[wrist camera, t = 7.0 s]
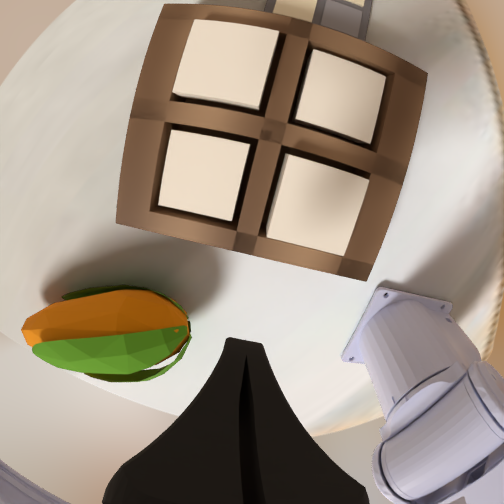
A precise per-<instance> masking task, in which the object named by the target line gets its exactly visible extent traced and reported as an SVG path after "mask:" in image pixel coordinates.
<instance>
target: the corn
mask: <svg viewBox="0 0 504 504" xmlns="http://www.w3.org/2000/svg"><path fill="white" fill-rule="evenodd" d="M62 298H63V299H65V300H67V301H62V302H57V303H53V304H51V305H50V306H48V307H46V308H44V309H43V310H41V311H39V312H37V313H36V314H34V315H32V316H30V317H29V318H27V319H26V321H25V323H24V325H23V327H22V329H21V331H22V333H23V335H24V338H25V340H26V342H27V344H28V345H29V346H31V347H32V351H33V353H34V354H35V355H36V356H37V357H39V358H41V359H42V360H44V361H46V362H47V363H49V364H51V365H53V366H56V367H58V368H62V369H67V370H71V371H76V372H82V373H84V374H86V375H88V376H90V377H93V378H96V379H100V380H104V381H108V382H140V381H148V380H151V379H153V378H156V377H158V376H160V375H162V374H164V373H165V372H167V371H168V370H169V369H170V368H171V367H172V366H174V365H175V364H176V363H177V362H178V361H179V360H181V359H182V357H183V355H184V353H185V351H186V349H187V347H188V345H189V342H190V340H191V338H192V337H191V335H190V332H191V324H190V321H188V320H187V319H188V318H189V317H188V316H187V312H186V311H185V310H184V309H183V308H182V306H181V305H179V304H178V303H177V302H176V301H175V300H173V299H171V298H169V297H167V296H166V295H164V294H162V293H159V292H156V291H153V290H150V289H148V288H144V287H137V286H130V285H118V286H107V287H95V288H88V289H84V290H80V291H76V292H72V293H69V294H66V295H64V296H62ZM186 342H187V343H186ZM185 343H186V344H185ZM184 344H185V346H184ZM183 346H184V347H183ZM182 347H183V349H182ZM181 349H182V350H181ZM180 350H181V352H180ZM179 352H180V353H179ZM177 353H179V355H178V356H177V358H176V359H175V361H174V362H172V363H171V364H169V365H167V366H164V367H162V368H159V369H150V370H143V369H146V368H149V367H152V366H153V365H157V364H159V363H161V362H163V361H164V360H166V359H168V358H170V357H172V356H173V355H175V354H177Z"/></svg>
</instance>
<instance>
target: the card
mask: <svg viewBox="0 0 504 504" xmlns="http://www.w3.org/2000/svg"><path fill="white" fill-rule="evenodd" d="M371 4H372V0H267V3H266V6H265V9H264V12H268V13H273V14H278V15H282V16H287V17H291V18H295V19H299V20H303V21H306V22H310V23H313V24H317V25H320V26H323V27H326V28H330V29H333V30H335V31H338V32H341V33H344V34H347V35H349V36H352V37H355V38H357V39H360V40H362V41H365V38H366V33H367V27H368V22H369V16H370V10H371Z"/></svg>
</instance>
